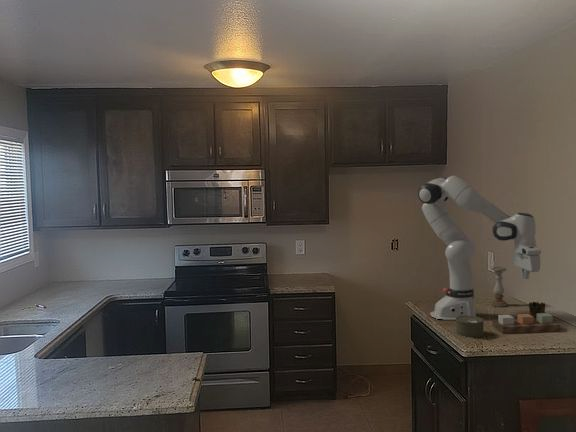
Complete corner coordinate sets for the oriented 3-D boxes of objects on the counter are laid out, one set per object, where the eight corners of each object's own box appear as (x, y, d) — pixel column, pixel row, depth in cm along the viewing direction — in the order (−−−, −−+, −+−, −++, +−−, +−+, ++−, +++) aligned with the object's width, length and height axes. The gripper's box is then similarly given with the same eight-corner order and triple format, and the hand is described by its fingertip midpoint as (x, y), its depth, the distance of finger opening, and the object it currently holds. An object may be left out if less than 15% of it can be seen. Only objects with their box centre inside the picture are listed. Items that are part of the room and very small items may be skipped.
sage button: (541, 323, 244) (541, 316, 243) (536, 320, 249) (536, 313, 248) (552, 323, 244) (552, 315, 244) (547, 320, 249) (547, 313, 249)
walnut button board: (503, 333, 240) (503, 327, 240) (492, 326, 252) (492, 320, 252) (560, 331, 241) (560, 324, 240) (546, 323, 253) (546, 317, 252)
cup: (526, 319, 261) (526, 303, 260) (532, 316, 266) (532, 300, 265) (542, 322, 255) (542, 305, 255) (547, 319, 260) (547, 302, 260)
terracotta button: (522, 324, 243) (522, 317, 243) (517, 321, 248) (517, 314, 248) (533, 324, 244) (533, 316, 243) (528, 321, 249) (528, 313, 248)
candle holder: (496, 302, 296) (496, 266, 295) (511, 305, 289) (510, 268, 288) (487, 305, 291) (486, 268, 290) (501, 308, 284) (501, 270, 283)
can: (475, 329, 248) (475, 314, 248) (489, 336, 236) (488, 321, 236) (451, 331, 247) (451, 316, 246) (463, 339, 235) (463, 323, 234)
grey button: (503, 325, 243) (502, 317, 243) (498, 322, 248) (498, 315, 248) (513, 325, 243) (513, 317, 243) (509, 322, 248) (508, 314, 248)
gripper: (508, 245, 254) (508, 274, 255) (528, 251, 233) (529, 282, 234) (521, 245, 254) (521, 274, 255) (543, 251, 233) (543, 282, 234)
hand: (525, 278), depth 244 cm, fingers closed
